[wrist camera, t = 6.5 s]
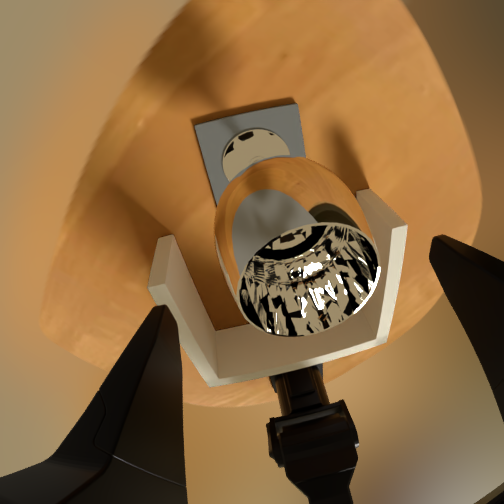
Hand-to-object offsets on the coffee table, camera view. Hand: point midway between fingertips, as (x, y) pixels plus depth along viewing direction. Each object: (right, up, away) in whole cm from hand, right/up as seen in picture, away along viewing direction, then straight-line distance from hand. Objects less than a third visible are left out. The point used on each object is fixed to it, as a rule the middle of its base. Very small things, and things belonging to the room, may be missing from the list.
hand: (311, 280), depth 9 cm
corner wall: (0, -1, +16) cm, 16 cm away
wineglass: (-2, +7, +10) cm, 12 cm away
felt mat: (-2, +7, +10) cm, 12 cm away
